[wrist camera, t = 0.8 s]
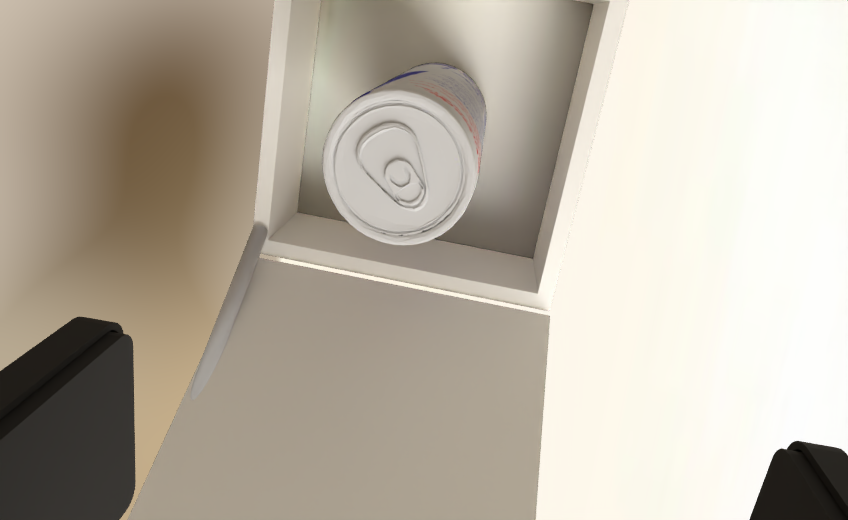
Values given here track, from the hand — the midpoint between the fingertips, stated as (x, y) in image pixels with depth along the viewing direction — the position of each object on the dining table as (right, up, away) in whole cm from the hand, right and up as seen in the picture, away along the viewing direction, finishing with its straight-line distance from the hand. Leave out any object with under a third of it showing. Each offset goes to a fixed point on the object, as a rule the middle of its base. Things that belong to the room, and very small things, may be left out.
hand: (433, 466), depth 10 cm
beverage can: (+1, +11, +28) cm, 30 cm away
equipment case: (0, +7, +29) cm, 30 cm away
